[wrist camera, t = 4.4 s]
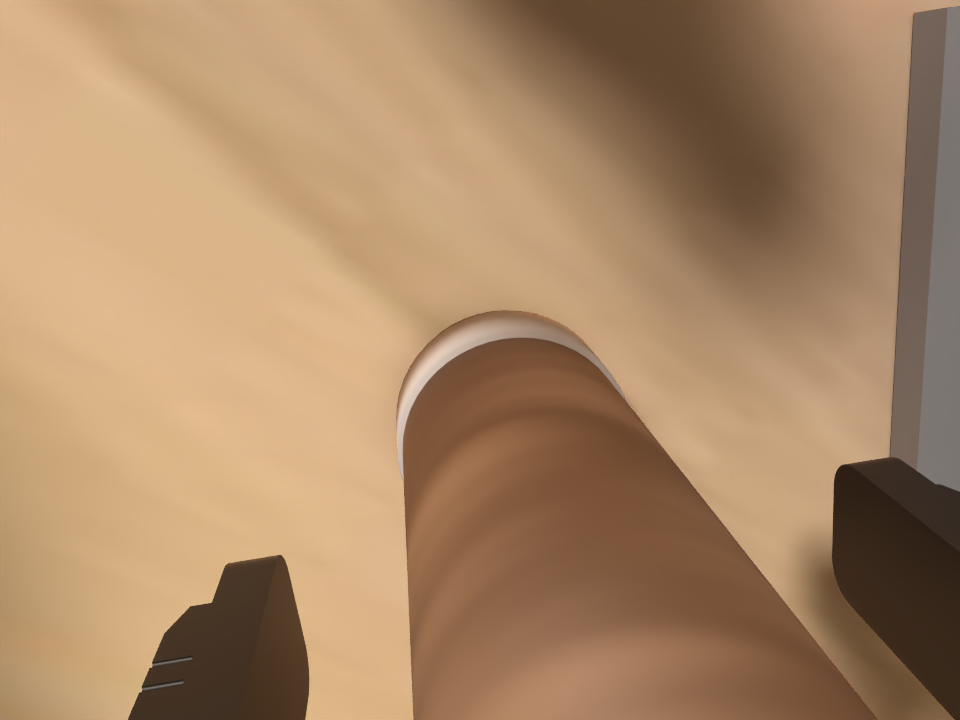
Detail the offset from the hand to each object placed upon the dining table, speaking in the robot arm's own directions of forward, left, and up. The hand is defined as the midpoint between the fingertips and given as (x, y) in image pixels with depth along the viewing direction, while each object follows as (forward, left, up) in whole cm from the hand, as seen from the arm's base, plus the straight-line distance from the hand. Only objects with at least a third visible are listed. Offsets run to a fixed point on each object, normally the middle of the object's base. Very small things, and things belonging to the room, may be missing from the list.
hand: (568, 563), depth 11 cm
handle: (0, 0, -6) cm, 6 cm away
